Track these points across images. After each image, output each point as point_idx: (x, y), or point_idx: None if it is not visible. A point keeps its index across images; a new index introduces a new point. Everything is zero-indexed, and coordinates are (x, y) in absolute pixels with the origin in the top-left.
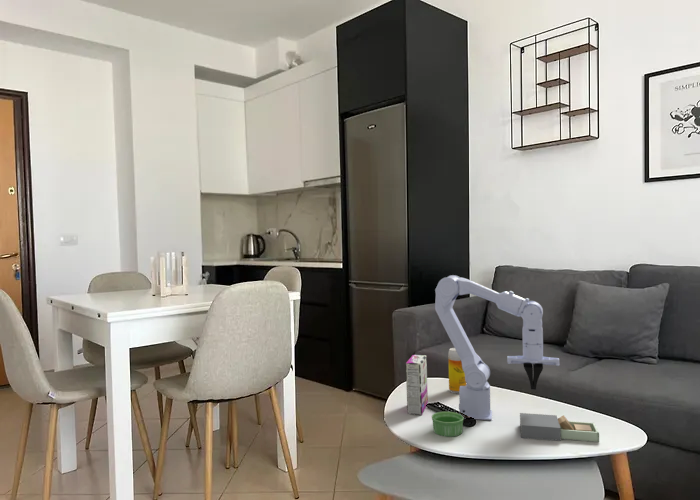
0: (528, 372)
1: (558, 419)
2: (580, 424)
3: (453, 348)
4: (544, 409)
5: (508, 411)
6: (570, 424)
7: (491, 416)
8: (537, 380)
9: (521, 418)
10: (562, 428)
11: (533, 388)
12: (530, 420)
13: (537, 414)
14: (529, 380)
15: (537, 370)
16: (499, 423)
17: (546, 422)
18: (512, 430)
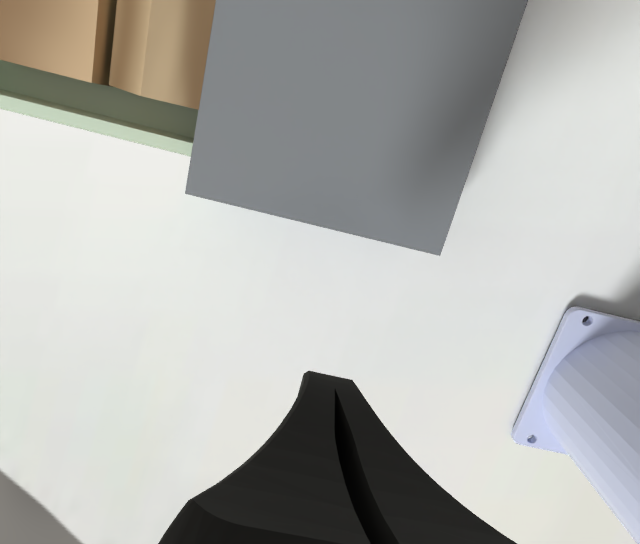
0: (453, 515)
1: (196, 85)
2: (43, 103)
3: None
4: (195, 465)
5: (408, 443)
6: (119, 65)
7: (556, 347)
8: (288, 416)
9: (475, 132)
10: (178, 133)
11: (332, 378)
12: (423, 82)
13: (322, 216)
14: (392, 438)
15: (293, 511)
16: (535, 263)
17: (311, 27)
18: (503, 140)
